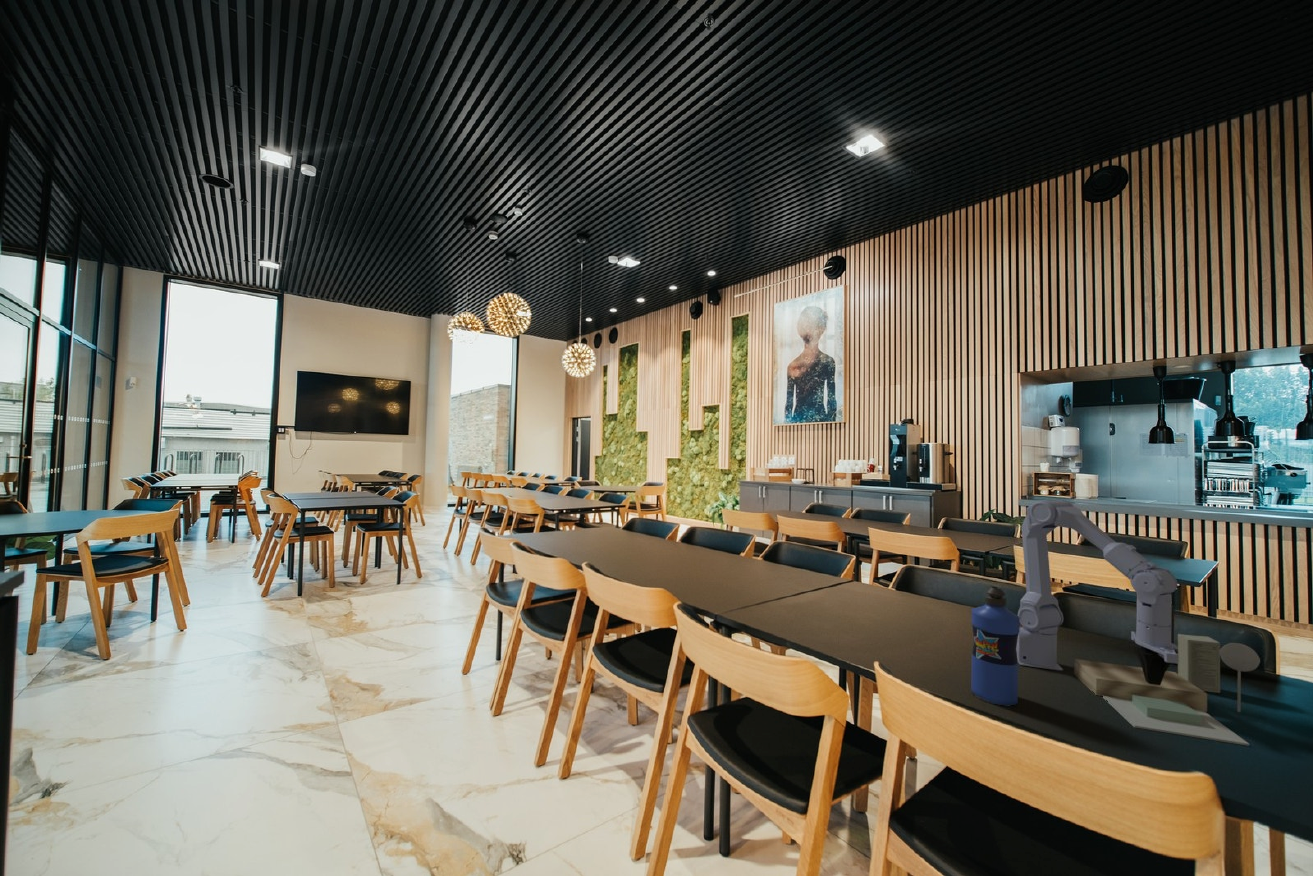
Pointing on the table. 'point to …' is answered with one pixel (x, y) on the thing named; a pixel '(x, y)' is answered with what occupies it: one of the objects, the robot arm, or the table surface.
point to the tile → (1166, 710)
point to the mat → (1175, 723)
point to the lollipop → (1239, 662)
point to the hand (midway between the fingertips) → (1153, 683)
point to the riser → (1137, 684)
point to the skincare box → (1199, 661)
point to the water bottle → (995, 650)
